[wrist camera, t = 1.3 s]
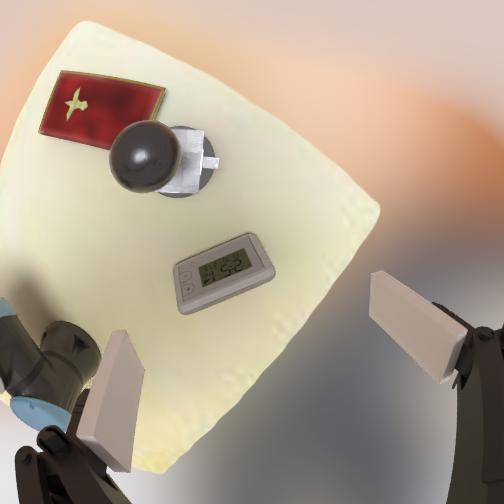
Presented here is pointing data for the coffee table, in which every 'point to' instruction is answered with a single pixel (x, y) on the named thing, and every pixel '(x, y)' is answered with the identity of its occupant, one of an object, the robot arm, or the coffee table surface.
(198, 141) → the grey blocky piece
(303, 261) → the coffee table surface
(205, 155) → the trivet
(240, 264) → the digital clock
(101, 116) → the hardcover book
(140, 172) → the ball knob lever
